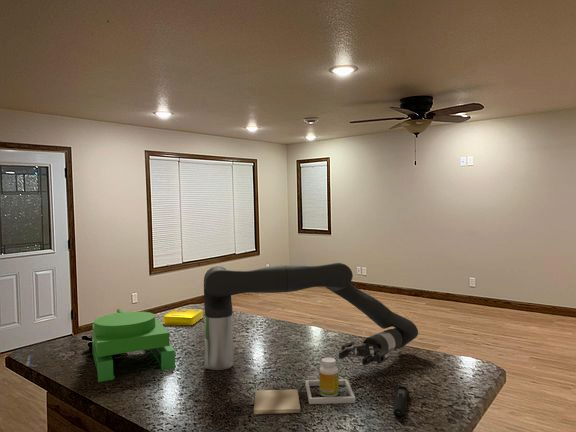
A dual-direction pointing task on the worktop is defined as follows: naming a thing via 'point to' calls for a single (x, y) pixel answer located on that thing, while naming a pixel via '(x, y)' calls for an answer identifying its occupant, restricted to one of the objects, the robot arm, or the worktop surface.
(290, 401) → the pad
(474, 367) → the worktop surface
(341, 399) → the square frame
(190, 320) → the element tile
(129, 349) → the tank
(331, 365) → the supplement bottle
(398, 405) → the electric trimmer
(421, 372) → the worktop surface
